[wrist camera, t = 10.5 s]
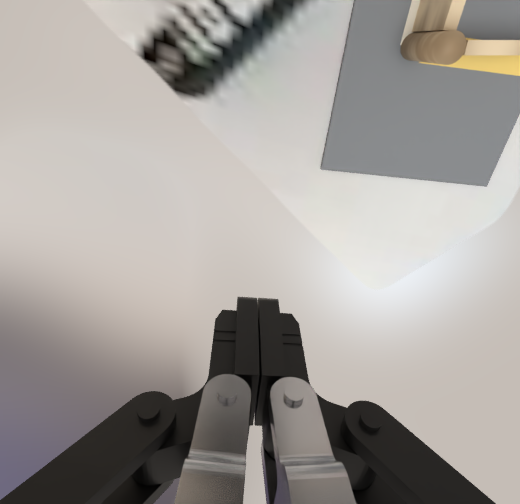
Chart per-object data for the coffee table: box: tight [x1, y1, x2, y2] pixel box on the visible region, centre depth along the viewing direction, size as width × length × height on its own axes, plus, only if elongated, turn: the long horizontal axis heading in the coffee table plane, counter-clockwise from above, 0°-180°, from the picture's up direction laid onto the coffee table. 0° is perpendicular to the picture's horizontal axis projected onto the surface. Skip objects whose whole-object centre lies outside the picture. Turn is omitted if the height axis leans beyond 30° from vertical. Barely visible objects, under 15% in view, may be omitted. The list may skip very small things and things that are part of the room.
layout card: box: [321, 0, 520, 187], centre depth 32 cm, size 28×18×1 cm, turn 174°
